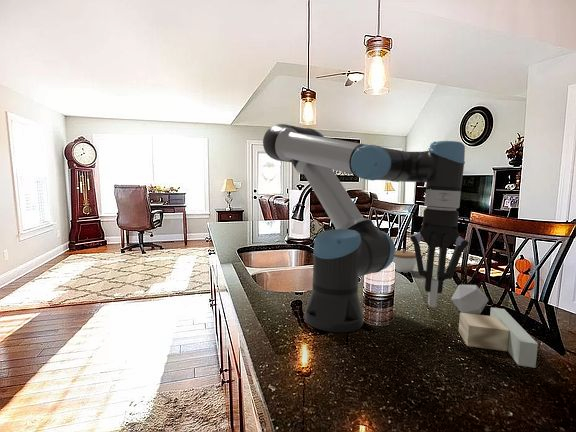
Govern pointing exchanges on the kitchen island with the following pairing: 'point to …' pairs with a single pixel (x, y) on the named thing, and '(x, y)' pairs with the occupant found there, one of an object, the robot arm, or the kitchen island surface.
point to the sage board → (517, 340)
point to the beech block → (483, 331)
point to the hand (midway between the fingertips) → (431, 304)
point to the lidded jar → (404, 261)
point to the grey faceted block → (469, 299)
